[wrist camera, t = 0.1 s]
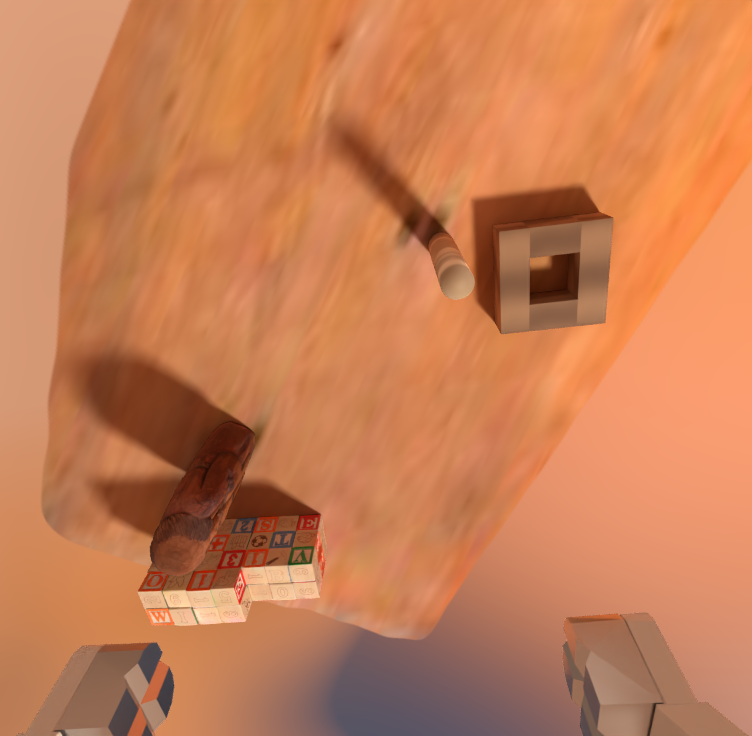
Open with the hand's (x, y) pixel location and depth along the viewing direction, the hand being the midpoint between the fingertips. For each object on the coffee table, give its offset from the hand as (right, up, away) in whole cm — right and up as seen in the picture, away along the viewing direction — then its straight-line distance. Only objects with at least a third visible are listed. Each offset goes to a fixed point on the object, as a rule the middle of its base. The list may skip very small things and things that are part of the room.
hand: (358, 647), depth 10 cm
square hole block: (+19, +16, +45) cm, 51 cm away
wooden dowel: (+7, +19, +44) cm, 48 cm away
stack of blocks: (-18, -18, +63) cm, 68 cm away
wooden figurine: (-19, -6, +57) cm, 60 cm away
